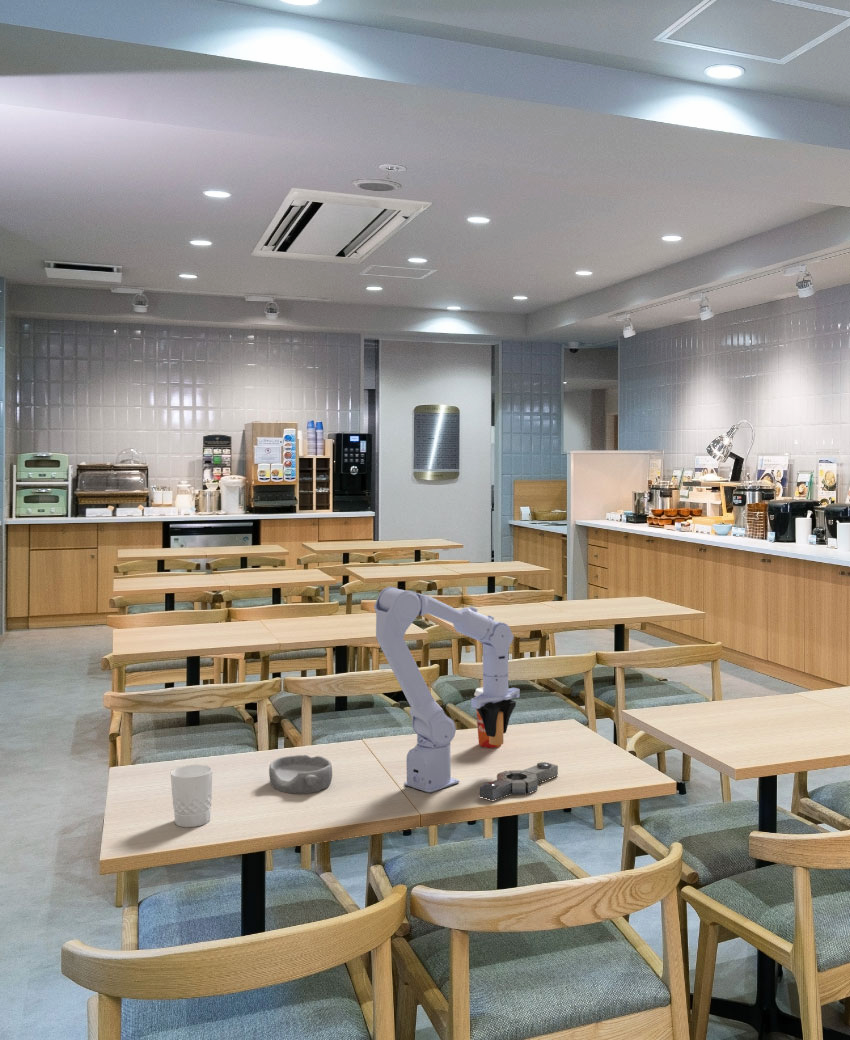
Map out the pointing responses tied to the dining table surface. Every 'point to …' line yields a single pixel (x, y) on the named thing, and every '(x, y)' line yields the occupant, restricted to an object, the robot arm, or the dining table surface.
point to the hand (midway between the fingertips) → (496, 734)
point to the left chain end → (501, 789)
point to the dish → (300, 774)
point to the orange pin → (498, 731)
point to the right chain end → (529, 775)
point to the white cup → (191, 794)
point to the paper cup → (482, 726)
